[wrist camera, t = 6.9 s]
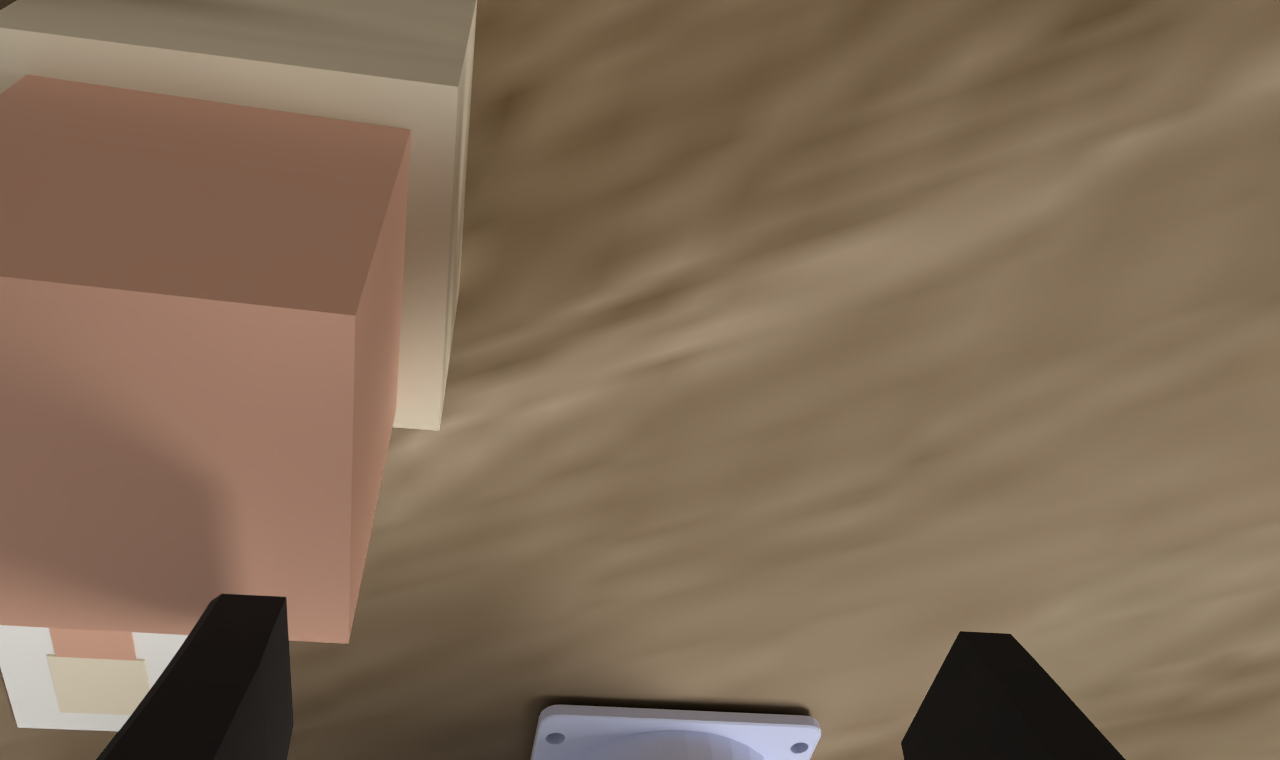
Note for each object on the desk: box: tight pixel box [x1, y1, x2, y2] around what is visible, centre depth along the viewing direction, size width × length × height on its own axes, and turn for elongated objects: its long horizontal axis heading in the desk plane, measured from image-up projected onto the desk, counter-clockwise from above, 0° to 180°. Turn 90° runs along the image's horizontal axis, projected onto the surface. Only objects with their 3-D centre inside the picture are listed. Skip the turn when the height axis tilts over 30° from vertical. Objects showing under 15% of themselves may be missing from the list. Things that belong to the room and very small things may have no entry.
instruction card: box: [0, 625, 188, 731], centre depth 24 cm, size 6×4×1 cm
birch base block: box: [0, 0, 477, 431], centre depth 15 cm, size 6×6×4 cm
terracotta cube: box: [0, 75, 411, 644], centre depth 11 cm, size 4×4×4 cm
